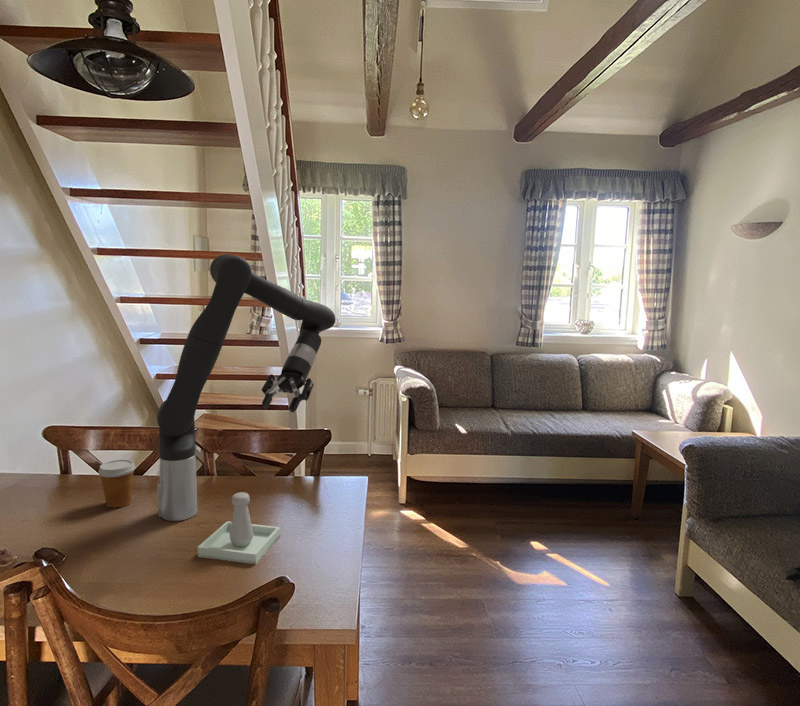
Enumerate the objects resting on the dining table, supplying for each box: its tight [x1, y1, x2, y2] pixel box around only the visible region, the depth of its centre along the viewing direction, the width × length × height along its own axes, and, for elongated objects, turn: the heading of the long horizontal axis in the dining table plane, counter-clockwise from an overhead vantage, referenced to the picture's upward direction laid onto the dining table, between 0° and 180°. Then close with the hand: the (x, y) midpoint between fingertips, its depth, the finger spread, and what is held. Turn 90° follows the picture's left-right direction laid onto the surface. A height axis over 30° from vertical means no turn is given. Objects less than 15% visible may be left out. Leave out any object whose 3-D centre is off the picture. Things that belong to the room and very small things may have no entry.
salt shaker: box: [230, 491, 254, 548], centre depth 132 cm, size 6×6×13 cm
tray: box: [197, 520, 281, 565], centre depth 133 cm, size 15×14×2 cm
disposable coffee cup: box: [97, 459, 136, 509], centre depth 154 cm, size 10×10×12 cm
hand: (277, 409), depth 147 cm, fingers open, 8 cm apart
